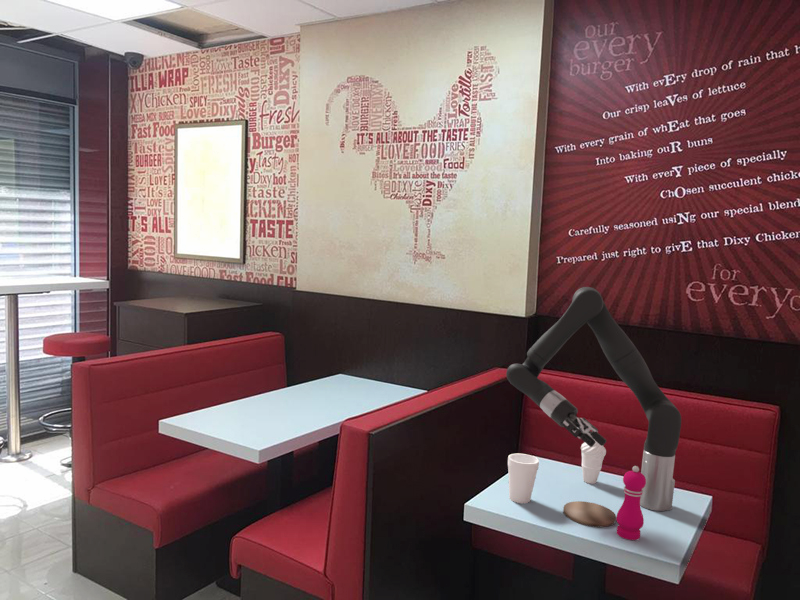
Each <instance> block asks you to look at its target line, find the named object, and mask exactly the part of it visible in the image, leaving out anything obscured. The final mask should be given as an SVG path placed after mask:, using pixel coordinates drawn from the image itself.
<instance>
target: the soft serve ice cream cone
mask: <svg viewBox="0 0 800 600" xmlns="http://www.w3.org/2000/svg"><path fill="white" fill-rule="evenodd" d="M604 446H605V445H603V446H601V445H600V444H599V443H597V442H595V444H594V445H593V446H592V447H590V446H589V445H588V444H586V443H585V442H584V441H583V443H581V446H580V450H581V464H580V465H581V469H582V480H583V482H584V483H587V484H593V485H594V484H597V481H598V479H599V475H600V472H601V470H602V465H603V460H605V459H604V458H605V456H606V454H607V449H606V447H604Z"/></svg>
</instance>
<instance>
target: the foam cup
mask: <svg viewBox="0 0 800 600" xmlns="http://www.w3.org/2000/svg"><path fill="white" fill-rule="evenodd" d="M539 466H540V459H539V458H537V457H536V456H534V455H530V454H526V453H520V452H518V453H511V454H509V455H508V457H507V469H508V470H507V471H508V493H509V494H508V495H509V500H510V501H512V502H513V501H514V502H513V503H516V502H517V504H523V503H524V504H529V503H530V502H531V499H532V493H533V491H534V486H535V482H536V479H537V477H536V476H537V473H538V470H539ZM528 502H529V503H528Z"/></svg>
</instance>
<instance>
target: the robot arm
mask: <svg viewBox="0 0 800 600" xmlns="http://www.w3.org/2000/svg"><path fill="white" fill-rule="evenodd" d="M585 324H587V325H588V326H589V328H590V329H591V330H592V332H593V334H594V335H595V337H596V339H597V342H598V344H599V346H600V348H601V349H602V352H603V354H604V355H605V357H606V359H607V361H608V362H609V364H610V365H611V367H612V368H613V370H614V372H615V373H616V374H617V376H618V377H619V378H620V380H622V382H623V383H624V384H625V385H626V386H627V387H628V388H629V390H630V391H632V393H633V394H634V396H635V397H636V399H637V400H638V403H639V404H640V406H641V408H642V410H643V411H644V414H645V416H646V419H647V421H648V427H647V428H648V429H647V433H646V439H645V441H644V444H643V452H642V460H641V469H640V473H642V474H643V475H644V476H645V479H646V485H645V487H644V488H643V489H642V490H643V492H642V494H643V495H642V496H641V498H640V507H643V508H645V509H647V510H651V511H655V512H656V511H658V512H665V511H669V510H672V508H673V499H674V493H675V492H674V491H675V483H676V480H675V479H674V478H673V476H674V469H675V459H676V451H677V449H678V446H679V443H680V442H679V441H680V436H681V435H680V434H681V430H682V428H681V427H682V415H681V412H680V410H679V409H678V408H677V407H676V406H675V404H674V403H673V402H672V401H671V400H670V399H669V398H668V397H667V396H666V394H665V393H664V392H663V391H662V390H661V389H660V387H659V386H658V384H657V383H656V382H655V380H654V378H653V375H652V373H651V371H650V369H649V367H648V365H647V363H646V361H645V359H644V357H643V356H642V355H641V353H640V351H639V350H638V348H637V347H636V345H635V344H634V343H633V341H632V340H631V339H630V338H629V336H628V335H627V334H626V333H625V331H624V330H623V329H622V328H621V327H620V325H619V324H618V323H617V322H616V321H615V319H614V318H613V316H612V314H611V313H610V311H609V309H608V308H607V306H606V304H605V301H604V300H603V297H602V295H601V292H599V290H597V289H596V288H594V287H590V286H583V287H580V288H578V289H577V290H576V291H575V292H574V294H573V296H572V301H571V303H570V305H569V306H568V308H567V309H566V311H565V312H564V313H563V315H562V316H561V317H560V318H559V319H558V321H557V322H555V323H554V324H553V325H552V326H551V327H550V328H548V330H547V331H545V332H544V333H543V334H542V335H541V336H540V337H539V338H538V339H537V340H536V341H535V342H534V344H533V345H532V346H531V347H530V348H529V349H528V350H527V352H526V356H527V357H526V359H525V360H524V362H523V363H522V364H521V363H517V362H516V363H512V364H510V365H509V366H508V367H507V369H506V373H505V375H506V379H507V381H508V382H509V383H510V385H512V386H513V387H515V388H516V389H517V390H519V392H521V393H523V394H525V395H526V396H527V397H528V398H529V399H530V400H531V401H533V403H535V404H536V405H537V406H538V407H539V408H540V409H541V410H542V411H543V413H545V414H546V415H547V416H548V417H549V418H550V419H552V420H553V421H554V422H555V423H556V424H557V425H558V426H559V427H561V428H564V429H566V430H567V431H568V432H569V434H571V435H572V436H573V437H574V438H578V439H579V440H582V441H583V443H584V442H585V443H586V444H588V445H589V446H590V447H592V446H593V445H594V444H595V442H597V443H599V444H600V445H601V446H605V444H606V443H607V439H606V438H605V437H603V435H601V434H600V433H599V429H598V428H597V427H596V426H594V424H592V423H591V422H589V420H587V419H586V417H578V415H577V414H578V412H579V411H578V408H577V407H576V406H575V405H574V404H573V403H571V402H570V401H569V400H568V399H567V398H566V397H565V396H563V395H562V394H561V393H559V392H558V391H557V390H555V389H554V388H553V387H552V386H551V385H550V384H548V383H547V382H546V381H544V380H542V379H539V378H538V377H539V375H541V373H542V371H543V369H544V367H545V366H546V365H547V364H548V363H549V362H550V361H551V360H552V359H553V358H554V356H555V355H556V354H557V353H558V352H559V351H560V350H561V348H563V347H564V345H565V344H566V343H567V341H568V340H570V338H571V337H572V336H573V335H575V333H576V332H578V330H579V329H580V328H582V327H583V326H584V325H585Z"/></svg>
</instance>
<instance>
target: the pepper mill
mask: <svg viewBox="0 0 800 600" xmlns="http://www.w3.org/2000/svg"><path fill="white" fill-rule="evenodd" d="M622 482H623V484H624V486H623V493H624V499H623V502H622V504H621V507H620V508H619V509H618V511H617V514H616V523H617V524H618V525H617V527H616V535H617V536H618V537H620V538H622V539H625V540H629V541H637V540H640V539H641V530H640V529H642V528H643V526H644V523H645V519H644V514H643V512H642V508H641V505H640V498H641V496H642V495H643V494H642V492H643V490H642V489H643V488H644V487H645V485H646V479H645V476H644V475H643V474H642V473H641V471H640V467H639V466H638V465H634V466H632V468H631V470H628V471H626V472H625V473H624V475H623V477H622Z"/></svg>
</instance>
